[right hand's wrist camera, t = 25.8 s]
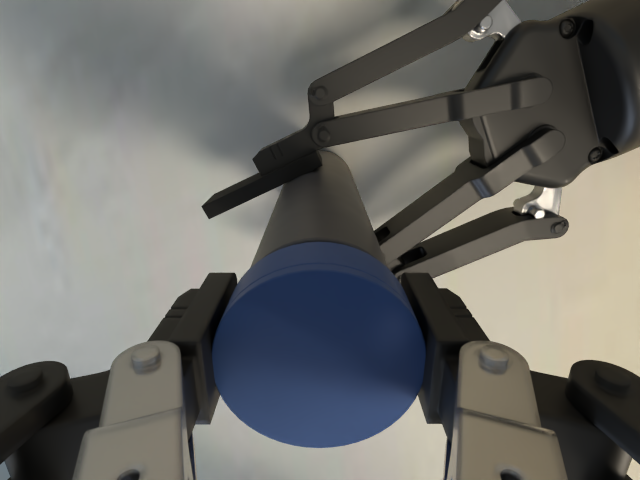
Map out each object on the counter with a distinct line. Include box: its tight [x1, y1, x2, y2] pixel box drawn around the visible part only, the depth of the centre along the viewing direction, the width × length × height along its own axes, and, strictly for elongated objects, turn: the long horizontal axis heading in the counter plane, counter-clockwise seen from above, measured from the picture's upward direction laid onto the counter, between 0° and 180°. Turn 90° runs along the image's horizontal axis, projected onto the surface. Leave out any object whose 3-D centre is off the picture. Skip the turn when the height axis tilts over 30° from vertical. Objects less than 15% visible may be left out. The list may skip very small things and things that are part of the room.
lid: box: [212, 242, 426, 448], centre depth 10 cm, size 5×5×2 cm
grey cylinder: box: [250, 150, 388, 268], centre depth 19 cm, size 5×5×19 cm
